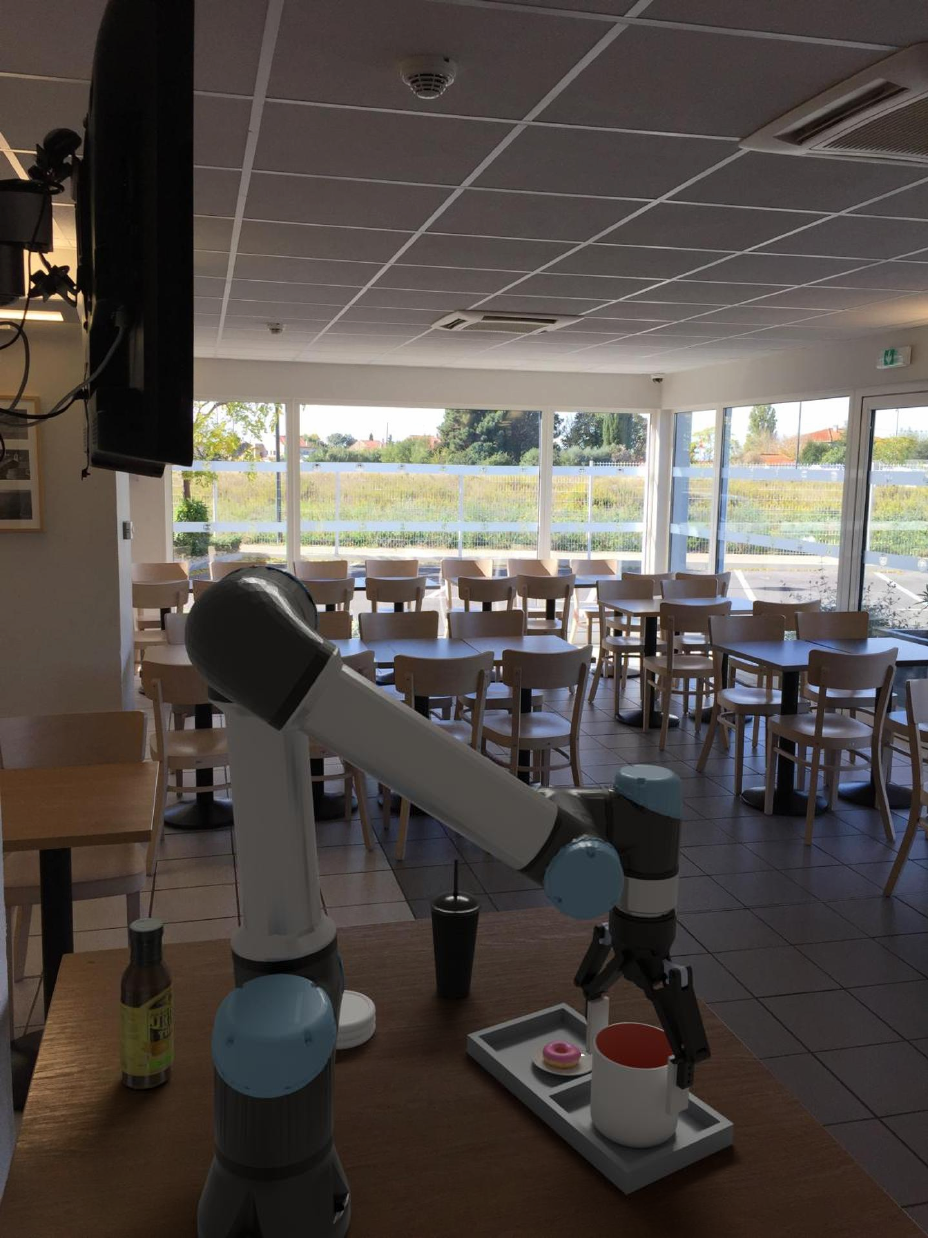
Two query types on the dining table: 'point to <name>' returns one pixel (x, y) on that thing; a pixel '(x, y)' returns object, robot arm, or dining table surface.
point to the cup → (631, 1085)
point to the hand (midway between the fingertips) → (634, 1079)
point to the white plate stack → (355, 1020)
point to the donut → (562, 1059)
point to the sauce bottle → (146, 1009)
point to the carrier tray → (589, 1100)
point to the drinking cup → (454, 938)
